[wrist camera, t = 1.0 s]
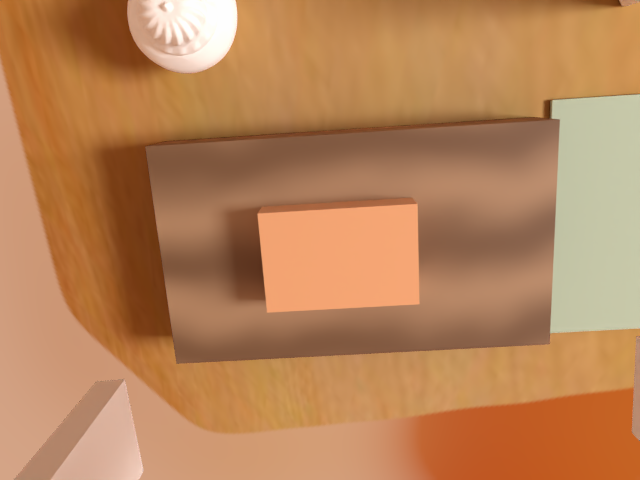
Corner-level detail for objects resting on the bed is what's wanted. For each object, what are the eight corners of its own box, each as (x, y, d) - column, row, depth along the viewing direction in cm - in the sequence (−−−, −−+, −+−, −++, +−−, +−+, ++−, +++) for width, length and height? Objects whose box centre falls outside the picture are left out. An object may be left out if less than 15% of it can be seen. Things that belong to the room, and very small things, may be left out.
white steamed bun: (220, -48, 33) (191, -86, 26) (263, 51, 34) (246, 39, 27) (130, -3, 33) (79, -29, 26) (176, 92, 35) (139, 90, 28)
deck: (165, 141, 35) (145, 146, 32) (534, 117, 35) (559, 119, 31) (191, 337, 39) (176, 363, 35) (527, 319, 38) (549, 344, 34)
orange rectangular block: (261, 206, 32) (257, 213, 30) (412, 197, 32) (417, 204, 30) (270, 300, 34) (267, 312, 32) (414, 292, 34) (419, 304, 32)
